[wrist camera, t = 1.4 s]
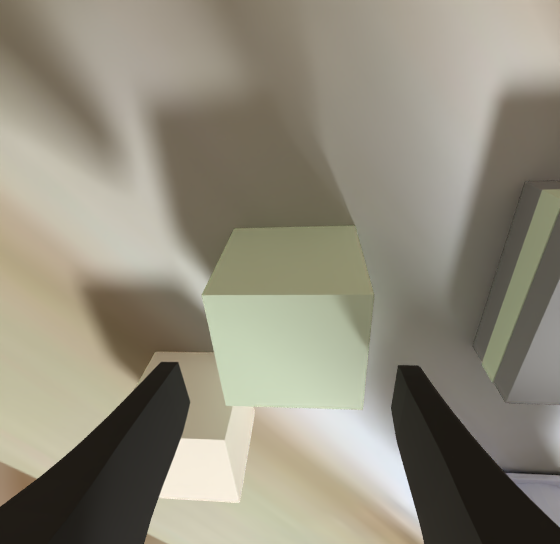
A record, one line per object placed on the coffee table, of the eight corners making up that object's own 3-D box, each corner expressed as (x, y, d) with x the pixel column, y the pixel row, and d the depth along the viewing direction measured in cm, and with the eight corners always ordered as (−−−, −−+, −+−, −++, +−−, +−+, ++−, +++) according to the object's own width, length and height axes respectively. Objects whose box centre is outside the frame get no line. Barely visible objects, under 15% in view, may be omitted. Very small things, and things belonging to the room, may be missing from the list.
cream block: (254, 412, 23) (239, 502, 18) (175, 410, 24) (141, 496, 19) (245, 351, 20) (224, 440, 15) (155, 350, 21) (108, 435, 16)
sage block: (349, 320, 18) (362, 409, 13) (247, 320, 19) (225, 405, 14) (354, 224, 15) (374, 294, 11) (234, 227, 16) (201, 295, 11)
